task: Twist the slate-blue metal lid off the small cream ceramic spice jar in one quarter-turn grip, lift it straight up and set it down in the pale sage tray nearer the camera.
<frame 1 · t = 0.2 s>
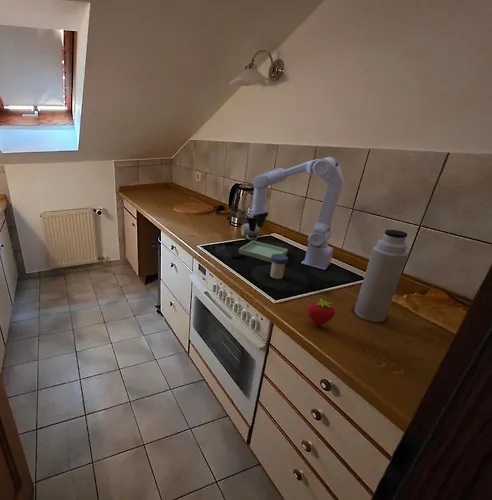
hand: (255, 229, 143), 10 cm above the worktop, tool pointing down, fingers open, 7 cm apart
ceramic mug: (250, 237, 160), on the worktop
jar: (276, 276, 120), on the worktop
strawberry: (317, 326, 90), on the worktop
jar lid: (279, 257, 116), point 8 cm above the worktop, screwed on, not yet turned
thermos bottle: (369, 315, 95), on the worktop
tray: (262, 253, 140), on the worktop
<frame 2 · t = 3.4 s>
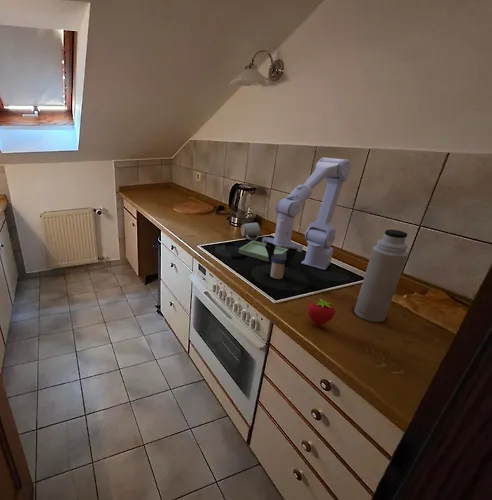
hand: (278, 263, 117), 6 cm above the worktop, tool pointing down, fingers closed on jar lid, 6 cm apart
jar lid: (279, 257, 116), point 8 cm above the worktop, screwed on, not yet turned, touching gripper
everything else where it was.
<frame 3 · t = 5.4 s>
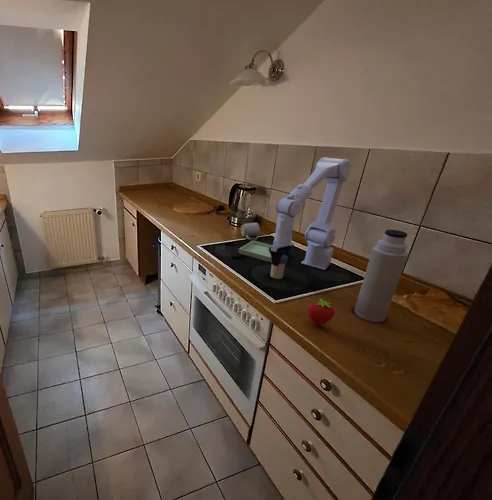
hand: (278, 262, 117), 6 cm above the worktop, tool pointing down, fingers closed on jar lid, 6 cm apart
jar lid: (279, 257, 116), point 8 cm above the worktop, turned 85° so far, risen 0.2 cm, still on its thread, touching gripper
everything else where it was.
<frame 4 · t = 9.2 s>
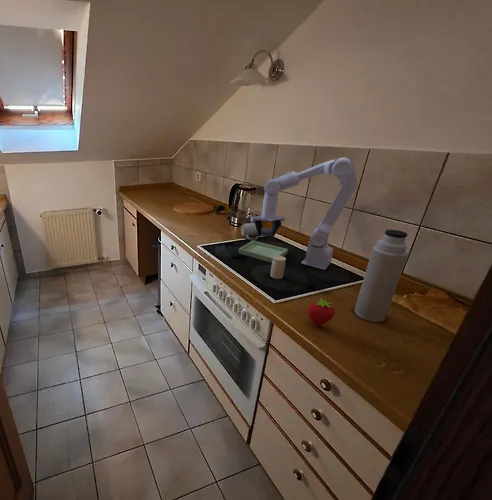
hand: (265, 236, 136), 9 cm above the worktop, tool pointing down, fingers closed on jar lid, 6 cm apart
jar lid: (266, 231, 135), point 11 cm above the worktop, off its thread, touching gripper
everything else where it was.
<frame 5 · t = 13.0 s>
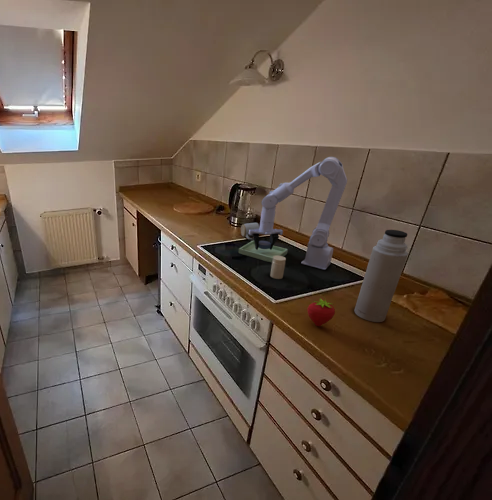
hand: (263, 248, 140), 2 cm above the worktop, tool pointing down, fingers closed on jar lid, 6 cm apart
jar lid: (264, 243, 139), point 5 cm above the worktop, off its thread, touching gripper
everything else where it was.
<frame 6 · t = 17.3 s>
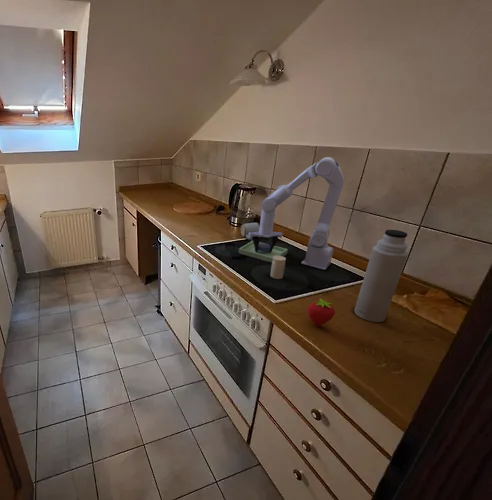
hand: (262, 251, 140), 1 cm above the worktop, tool pointing down, fingers closed on jar lid, 6 cm apart
jar lid: (263, 246, 139), point 4 cm above the worktop, off its thread, touching gripper
everything else where it was.
when the fingers open (2 cm above the worktop, at t = 22.5 s): jar lid drops 2 cm, resting on tray.
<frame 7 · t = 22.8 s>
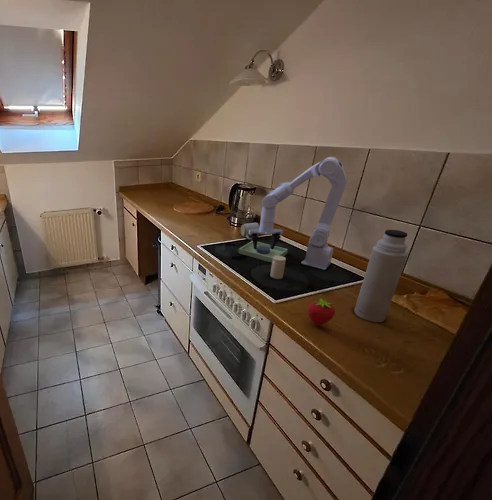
hand: (263, 248, 140), 2 cm above the worktop, tool pointing down, fingers open, 7 cm apart
jar lid: (263, 248, 140), point 2 cm above the worktop, off its thread, touching tray
everything else where it was.
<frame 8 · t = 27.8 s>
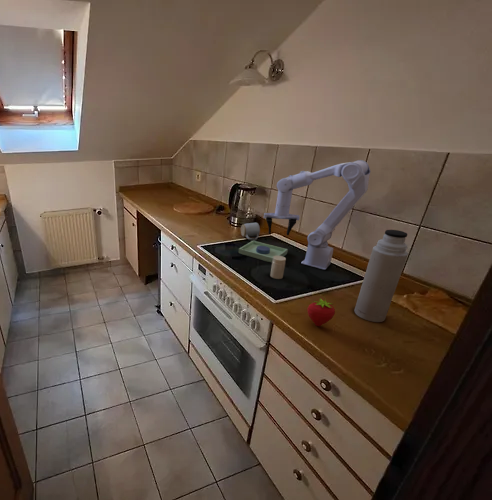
hand: (278, 233, 137), 9 cm above the worktop, tool pointing down, fingers open, 7 cm apart
nothing on the worktop moved.
at the end: jar lid came off its thread; jar lid inside the target area in the tray (0.0 cm from its centre), point 2.3 cm above the tray's base; the gripper is holding nothing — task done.
